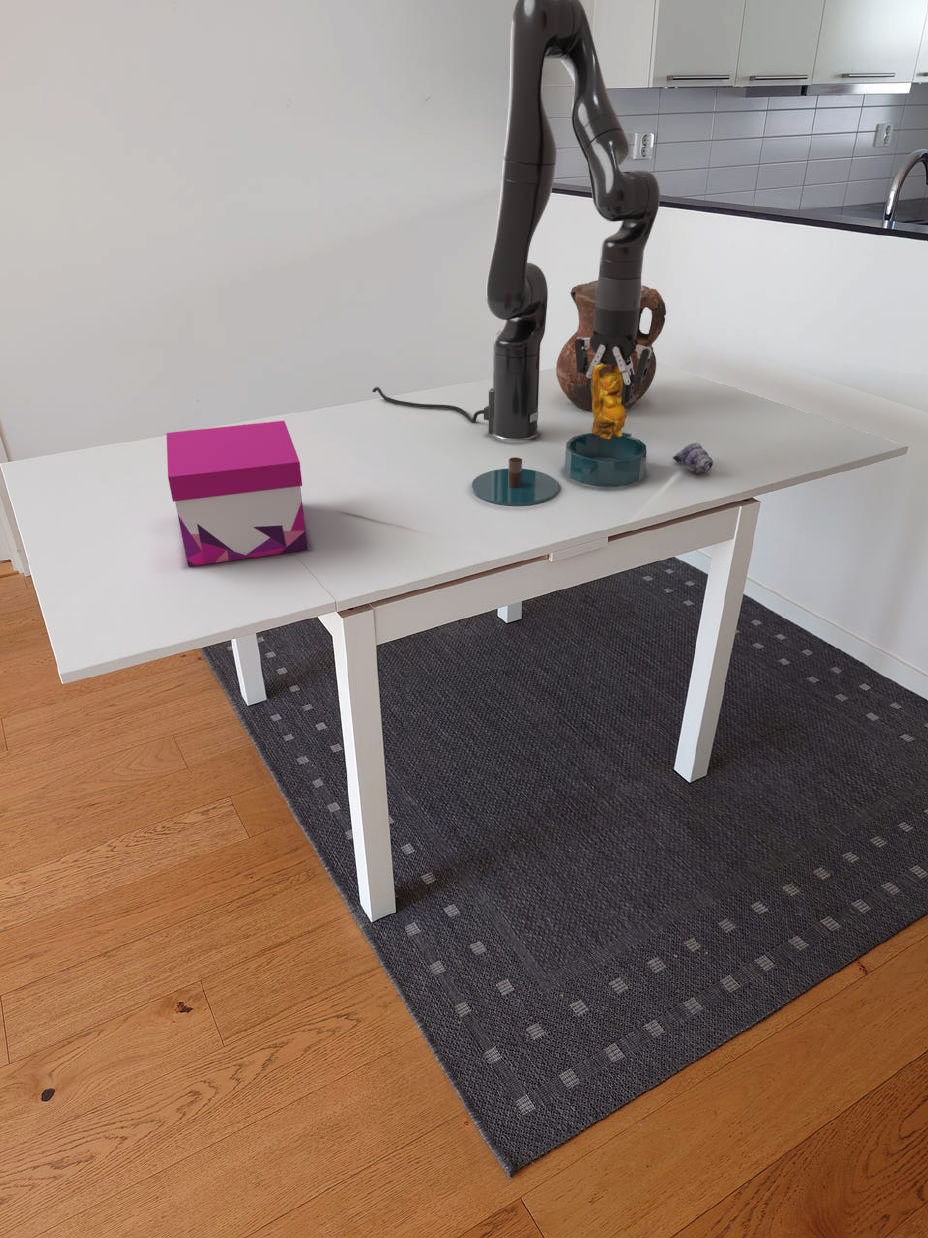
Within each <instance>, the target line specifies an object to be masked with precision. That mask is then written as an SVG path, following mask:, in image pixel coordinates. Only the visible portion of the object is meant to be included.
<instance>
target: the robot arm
mask: <svg viewBox="0 0 928 1238" xmlns="http://www.w3.org/2000/svg"><path fill="white" fill-rule="evenodd" d="M509 39H510V42H509V90H508V91H509V94H508V106H507V107H508V108H507V118H506V119H507V120H506V121H507V123H506V132H505V133H506V134H505V143H504V150H503V157H502V167H501V177H500V193H499V201H498V210H497V218H496V227H495V228H496V229H495V234H494V235H495V236H494V242H493V248H492V253H491V257H490V263H489V268H488V273H487V277H486V283H485V284H486V286H485V297H486V303H487V306H488V308H489V310H490V312H491V313H492V314H493V316H495V318H497V319H499V320H501V321H502V320H503V321H504V322H503V324H502V326H501V328H500V329H499V330H498V332H497V333H496V334H495V335H494V337H493V344H492V356H493V357H492V388H490V389H488V390H489V391H488V405H487V406H485V407H484V408H483V409H480V410H477V411H475V412H474V413H473V416H472V417H471V416H469V414H468V413H467V412H466V411H465V410H464V409H463V408H461V407H458V406H456V405H449V404H431V403H430V404H429V403H417V402H411V401H403V400H399V399H395V398H391V397H388V396H386V395H385V394H384V393H383V391H382V389H381V388H380V387H379V386H376V387H374V388H373V389H372V391H371V392H372V393H377V392H378V394H379V395H380V397H381V398H382V399H383V400H385V401H388V402H391V403H394V404H398V405H401V406H402V405H403V406H409V407H417V408H425V409H427V408H431V409H448V410H454V411H457V412H459V413H460V414H462V415H463V416H464V417H465V418H466V419H467V420H468V421H469V422H471V423H475V422H476V421H477V418H478V416H479V415H483V420H484V421H488V434H490V435H492V436H494V437H495V438H497V439H499V440H502V441H508V442H509V441H511V442H521V441H528V440H529V441H532V440H535V439H536V438H537V437H538V435H539V434H538V433H539V432H538V431H539V430H538V427H539V425H538V420H539V394H540V393H539V390H540V366H541V365H540V363H541V344H542V342H543V339H544V337H545V332H546V325H547V324H546V323H547V313H548V312H547V311H548V301H549V300H548V299H549V296H548V295H549V294H548V293H549V291H548V289H549V288H548V283H547V277H546V276H545V274H544V271H543V270H542V269H541V268H540V267H539V266H538V265H537V264H534V263H532V262H528V259H529V252H530V247H531V243H532V241H533V237H534V234H535V232H536V229H537V228H538V226H539V223H540V221H541V219H542V217H543V215H544V213H545V210H546V208H547V206H548V203H549V200H550V198H551V195H552V191H553V186H554V180H555V173H556V172H555V171H556V164H557V153H558V152H557V144H556V139H555V136H554V132H553V128H552V125H551V122H550V119H549V118H548V114H547V111H546V108H545V104H544V97H543V75H544V74H543V73H544V63H545V60H559V61H560V62H561V64H562V65H563V68H564V69H565V70H566V72H567V74H568V77H569V78H570V81H571V82H570V83H571V85H572V86H571V87H572V96H571V105H570V106H571V107H570V118H571V120H570V121H571V127H572V130H573V133H574V136H575V140H576V141H577V143H578V145H579V148H580V151H581V153H582V155H583V158H584V159H585V161H586V163H587V169H588V170H587V171H588V176H589V183H590V190H591V197H592V202H593V206H594V208H595V211H597V213H598V215H600V217H601V218H603V219H604V220H606V221H607V222H612V223H617V222H621V223H620V225H619V229H618V230H617V232H615V233H614V234H611V235H610V236H608V237H606V238H605V239H603V241H602V243H601V247H600V254H599V255H600V256H599V267H598V279H597V280H598V283H597V287H596V295H595V310H594V322H593V334H592V336H591V337H585V336H582V337H580V338H578V339H576V340H575V352H576V364H577V372H578V373H582V374H584V375H586V377H587V385H586V394H587V395H588V398H589V399H592V392H591V385H590V384H591V374H592V371H593V368H594V367H595V366H596V365H599V364H608V363H610V364H612V365H616V366H618V368H619V371H620V373H622V376H623V380H624V383H625V384H623V390H622V400H621V404H622V405H626V404H628V403H629V402H630V401H631V400H632V398H633V390H634V383H639V382H641V381H642V380H643V379H645V377H646V374H647V371H648V367H649V364H650V360H651V357H652V353H653V352H654V346H653V345H652V346H648V347H645V346H642V345H639V344H638V341H637V338H636V335H637V328H638V318H639V309H640V300H641V285H642V276H643V275H642V273H643V266H644V265H643V264H644V254H645V249H646V245H647V243H648V241H649V238H650V235H651V232H652V229H653V227H654V223H655V220H656V218H657V214H658V211H659V208H660V202H661V189H660V185H659V182H658V179H657V177H656V176H655V175H654V174H653V173H652V172H651V171H648V170H644V169H643V170H631V171H622V170H621V169H620V166H621V165H622V164H624V162H625V161H626V160H627V158H628V156H629V154H630V151H631V149H630V148H631V147H630V143H629V140H628V138H627V134H626V133H625V130H624V129H623V126H622V124H621V121H620V119H619V117H618V115H617V113H616V110H615V109H614V106H613V104H612V101H611V98H610V95H609V93H608V90H607V87H606V84H605V80H604V77H603V73H602V70H601V69H602V68H601V65H600V60H599V57H598V53H597V50H596V46H595V43H594V37H593V34H592V30H591V27H590V23H589V20H588V16H587V13H586V10H585V8H584V6H583V3H582V2H581V0H517V1H516V3H515V6H514V9H513V13H512V18H511V25H510V38H509ZM590 344H591V346H592V348H593V350H594V352H595V356H594V358H593V360H592V362H591V364H590V366H589V364H588V351H587V349H589V346H590ZM635 351H636V352H637V357H638V359H640V360H639V363H638V367H637V371H636V374H635V373H634V370H633V362H632V359H631V355H632V354H633V353H634V352H635Z"/></svg>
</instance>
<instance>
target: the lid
mask: <svg viewBox="0 0 928 1238" xmlns="http://www.w3.org/2000/svg"><path fill="white" fill-rule="evenodd" d="M471 492H472V493H473V494H474V495H475V496H476V497H477V498H479V499H481V500H483V501H486V502H488V503H492V504H495V505H500V506H508V507H509V506H510V507H511V506H512V507H513V506H514V507H520V506H521V507H522V506H531V505H537V504H541V503H544V502H547V501H549V500H551V499H552V498H554V497H555V496H556V495H557V494H558V492H559V483H558V481H557V480H556V479H555V478H554V477H553V476H551V475H549V474H548V473H545V472H543V471H538V470H534V469H528V468H523V459H522V458H520V457H514V456H513V457H510V458H509V459H508V468H498V469H493V470H490V471H489V470H488V471H486V472H483V473H481V474H479V475H478V476H476V477H475V478H474V479H473V480H472V481H471Z"/></svg>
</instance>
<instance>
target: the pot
mask: <svg viewBox="0 0 928 1238" xmlns="http://www.w3.org/2000/svg"><path fill="white" fill-rule="evenodd" d="M622 433H623V435H622V436H621V437H617V436H612V437H611V438H610V439H605V438H601V437H597V436H595V435H594V434H593V433H592V432H588V433H582V434H578V435H575V436H573V437H571V438H569V440H567V441H566V444H565V460H564V473H565V475H566V476H567V477H568V478H569V479H571V480H573V481H575V482H577V483H579V484H582V485H583V484H584V485H587V486H593V487H600V488H602V487H603V488H605V487H606V488H617V487H624V486H630V485H632V484H634V483H638V482H639V481H640V480H642V479H643V478H644V477H645V471H646V470H645V469H646V462H647V461H646V460H647V451H648V450H647V445H646V444H645V443H644V442H643V441H642V440H641V439H639V438H636V437H633V435H632V433H627V432H622Z"/></svg>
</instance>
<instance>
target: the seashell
mask: <svg viewBox="0 0 928 1238" xmlns="http://www.w3.org/2000/svg"><path fill="white" fill-rule="evenodd" d="M672 460H674V462H676V463H677V464H680V463H681V464H683V466H684V467H685V468H686V469H687V470H688V471H689V472H692V473H693V474H704V473H706V472H709V471H710V470H711V469H712V467H713V465H714V461H713V459H712V457H711V456H709V453H708V452H707V450H705V449H704V448H703V446H702V445H701V444H700V443H699V442H692V443H690V444H687V445H686V446H685V447H683V448H682V449H680V450H679V451H678V452H676V453H675V455H673V456H672Z"/></svg>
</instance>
